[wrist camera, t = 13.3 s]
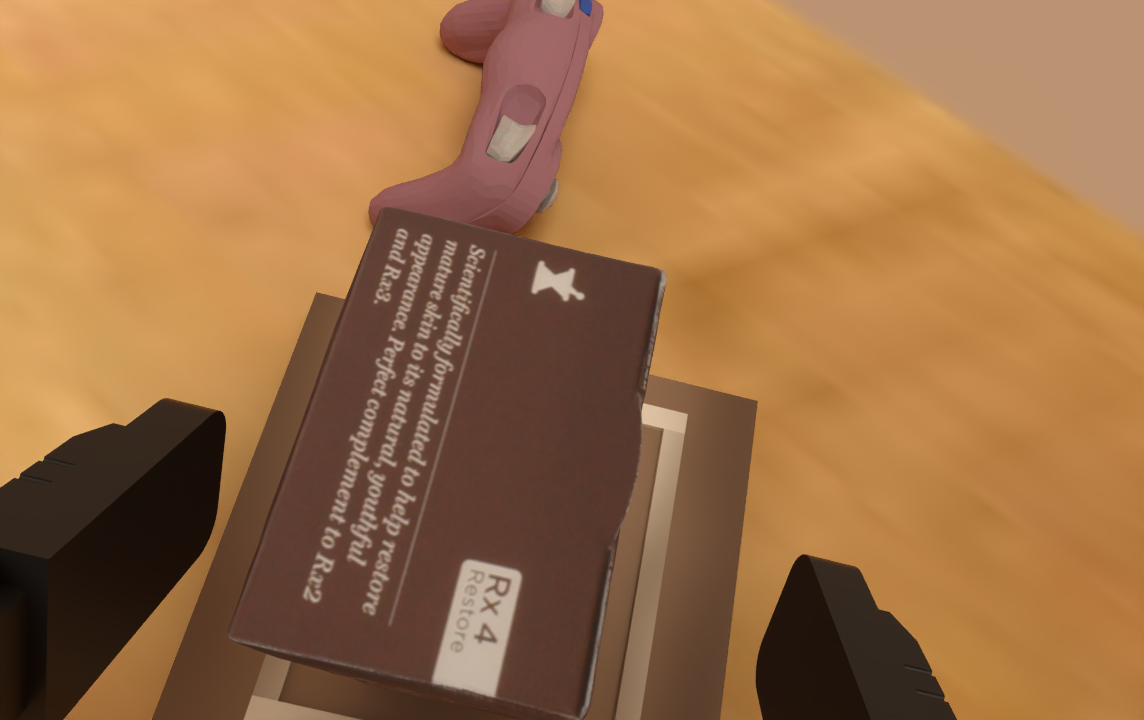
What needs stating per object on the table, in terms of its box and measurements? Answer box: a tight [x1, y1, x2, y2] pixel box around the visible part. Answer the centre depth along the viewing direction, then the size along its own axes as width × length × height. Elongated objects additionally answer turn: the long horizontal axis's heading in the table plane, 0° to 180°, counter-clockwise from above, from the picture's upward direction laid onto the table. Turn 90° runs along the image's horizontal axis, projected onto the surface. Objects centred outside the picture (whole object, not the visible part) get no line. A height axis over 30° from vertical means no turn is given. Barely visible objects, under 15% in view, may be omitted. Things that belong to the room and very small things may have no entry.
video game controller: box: [368, 0, 603, 234], centre depth 28 cm, size 10×5×7 cm, turn 166°
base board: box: [152, 292, 758, 720], centre depth 23 cm, size 13×12×3 cm
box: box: [228, 207, 666, 720], centre depth 16 cm, size 6×4×12 cm
